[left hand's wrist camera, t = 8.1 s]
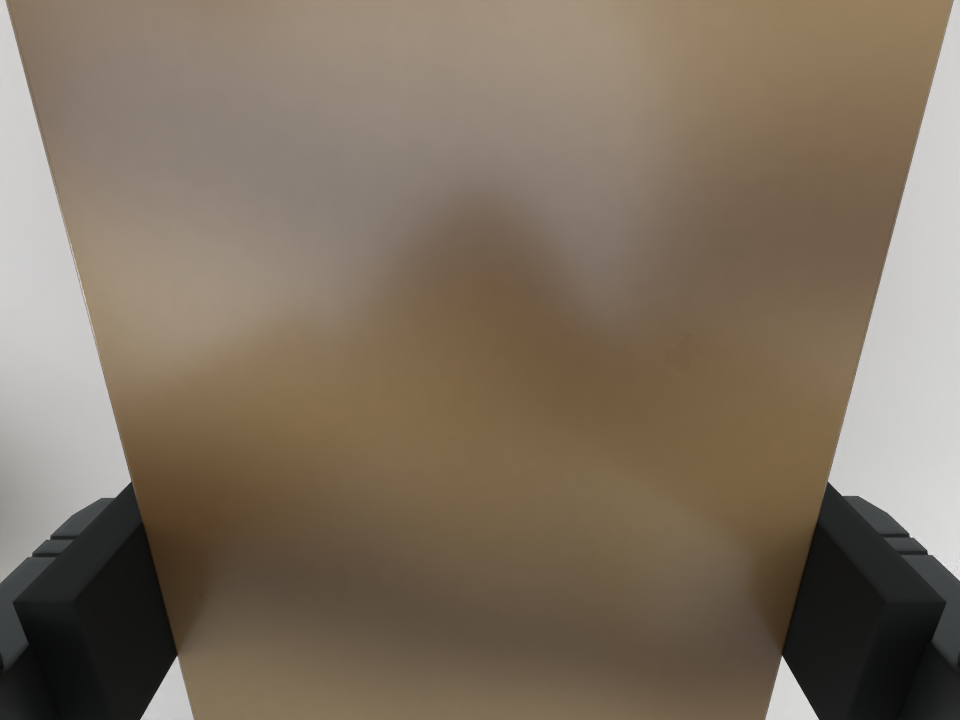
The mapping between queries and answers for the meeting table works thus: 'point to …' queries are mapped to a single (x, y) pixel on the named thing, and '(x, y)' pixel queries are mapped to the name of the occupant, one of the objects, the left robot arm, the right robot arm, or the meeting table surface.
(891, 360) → the meeting table surface
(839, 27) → the cabinet
